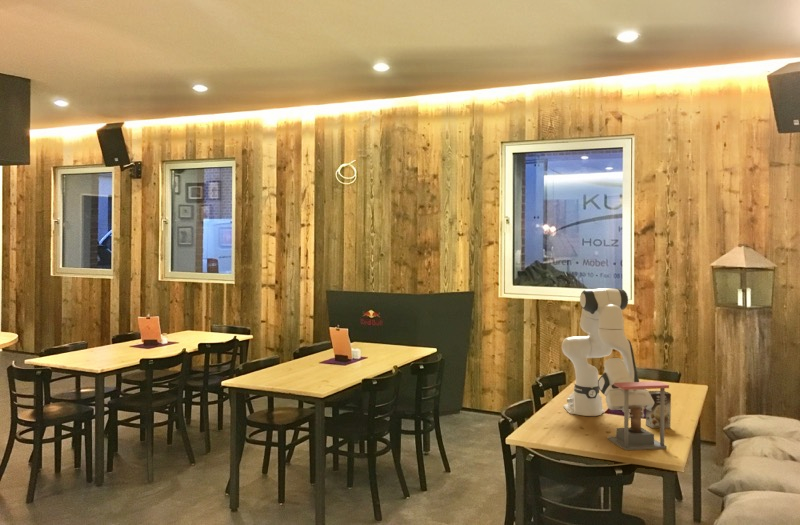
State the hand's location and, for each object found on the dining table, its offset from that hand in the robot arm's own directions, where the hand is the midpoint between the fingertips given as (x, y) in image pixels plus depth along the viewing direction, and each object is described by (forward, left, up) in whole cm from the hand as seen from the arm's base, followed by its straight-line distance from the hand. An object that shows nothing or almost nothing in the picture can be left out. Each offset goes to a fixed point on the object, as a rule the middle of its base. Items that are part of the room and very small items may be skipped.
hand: (636, 416), depth 260 cm
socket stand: (0, 0, -11) cm, 11 cm away
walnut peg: (-1, 0, -6) cm, 6 cm away
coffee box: (-23, +24, -12) cm, 35 cm away
